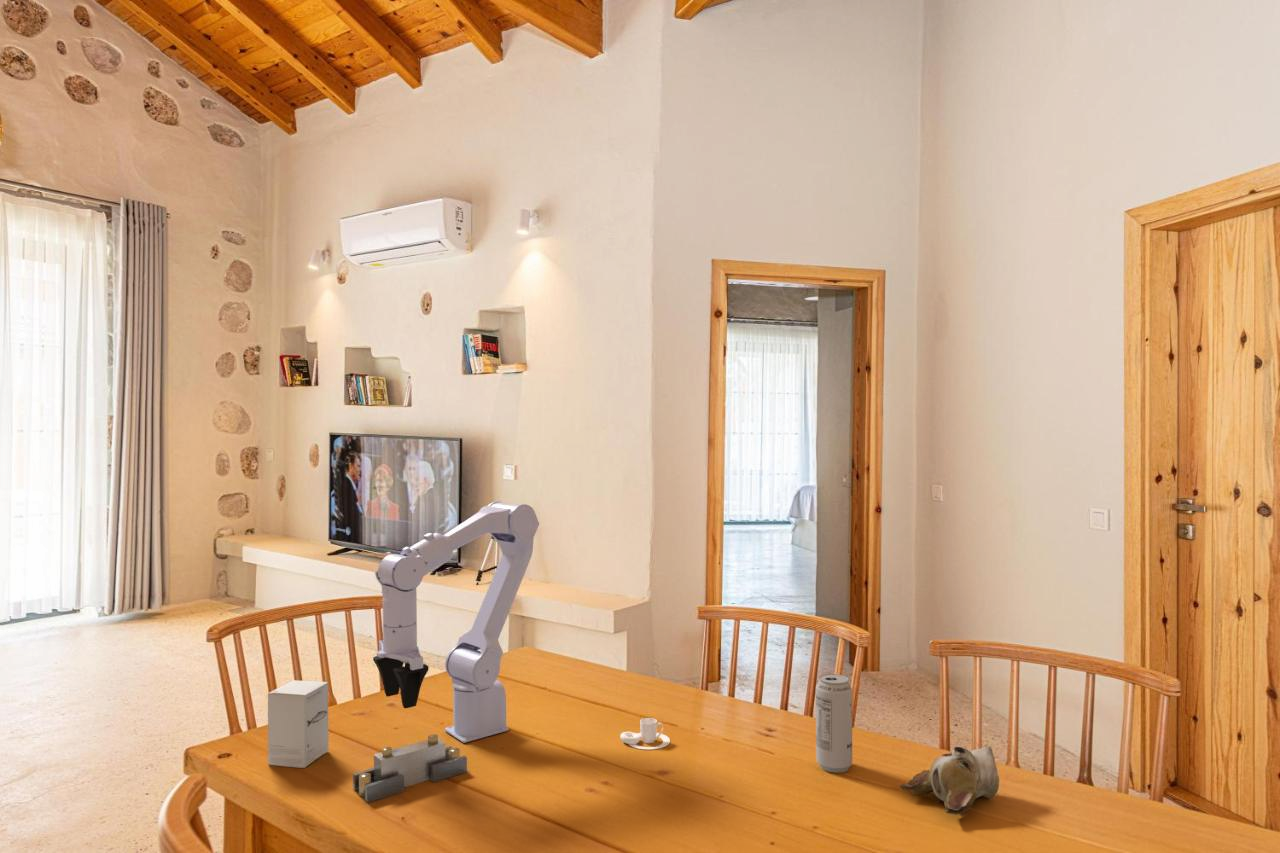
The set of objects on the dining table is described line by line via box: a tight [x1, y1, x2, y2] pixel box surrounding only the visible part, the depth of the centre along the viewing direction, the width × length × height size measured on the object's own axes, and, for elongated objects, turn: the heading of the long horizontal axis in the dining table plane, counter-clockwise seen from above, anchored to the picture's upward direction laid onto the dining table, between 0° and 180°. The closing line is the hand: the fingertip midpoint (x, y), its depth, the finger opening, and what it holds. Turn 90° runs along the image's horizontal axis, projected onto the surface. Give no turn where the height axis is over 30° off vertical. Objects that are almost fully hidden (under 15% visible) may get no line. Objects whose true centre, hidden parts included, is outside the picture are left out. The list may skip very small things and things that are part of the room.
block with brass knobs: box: [373, 734, 446, 788], centre depth 135 cm, size 11×3×6 cm, turn 129°
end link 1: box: [352, 767, 405, 804], centre depth 131 cm, size 6×6×3 cm
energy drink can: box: [815, 673, 853, 774], centre depth 139 cm, size 6×6×15 cm
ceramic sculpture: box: [899, 745, 1000, 815], centre depth 126 cm, size 11×9×15 cm
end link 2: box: [430, 745, 468, 783], centre depth 138 cm, size 6×6×3 cm
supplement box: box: [267, 679, 329, 769], centre depth 144 cm, size 7×7×13 cm
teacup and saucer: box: [619, 717, 671, 751], centre depth 151 cm, size 9×8×4 cm
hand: (400, 700), depth 144 cm, fingers open, 7 cm apart
